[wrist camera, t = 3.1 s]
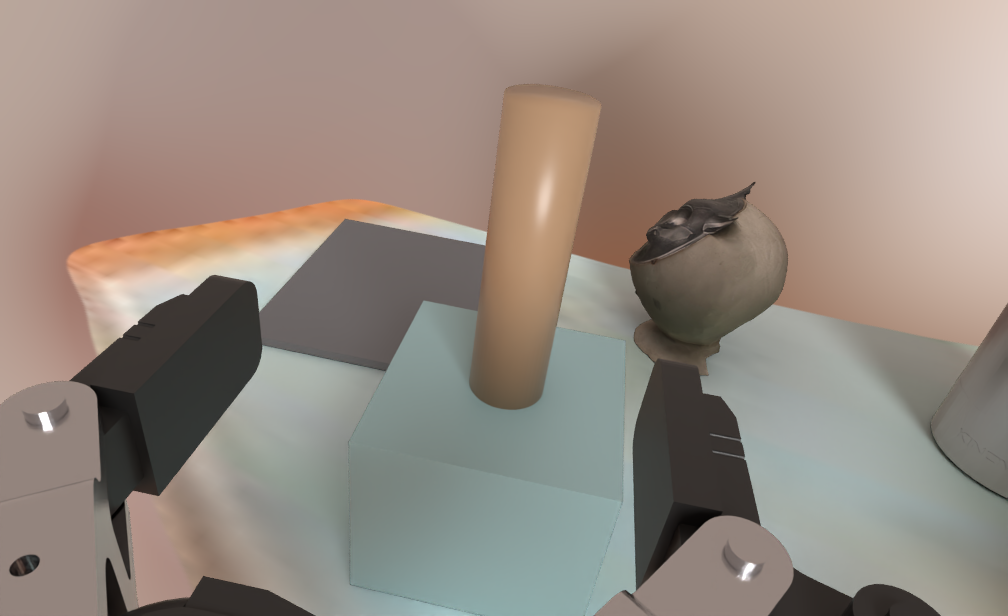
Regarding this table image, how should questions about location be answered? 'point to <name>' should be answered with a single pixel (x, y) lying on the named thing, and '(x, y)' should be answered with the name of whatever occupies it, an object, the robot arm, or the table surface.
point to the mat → (369, 292)
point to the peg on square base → (500, 406)
